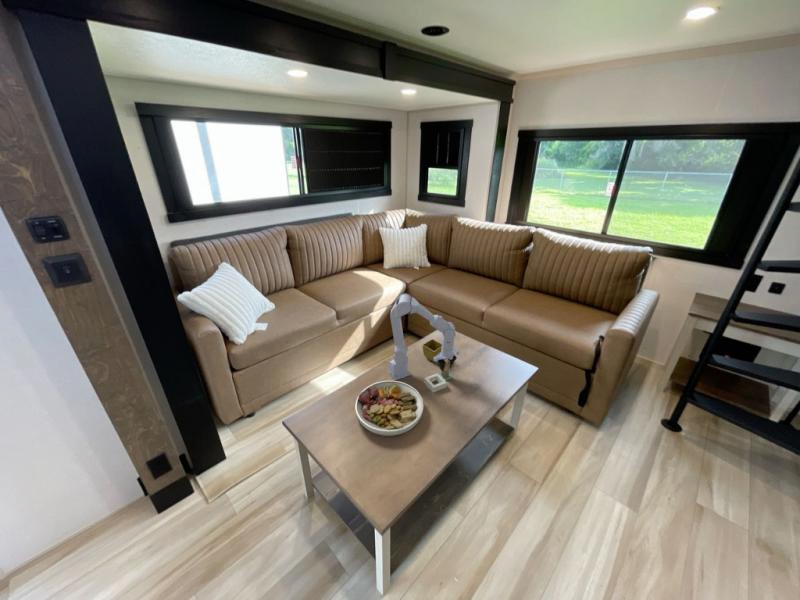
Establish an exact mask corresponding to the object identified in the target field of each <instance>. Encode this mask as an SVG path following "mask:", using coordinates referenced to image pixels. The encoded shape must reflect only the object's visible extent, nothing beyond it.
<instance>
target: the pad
mask: <svg viewBox="0 0 800 600" xmlns="http://www.w3.org/2000/svg"><path fill="white" fill-rule="evenodd" d="M438 374H439V375H440V376H441V377H442V378H443V379H444V380H445V381H446V382H447V381H449V380H452V379H454V377H453V376H452V374H450V373H449V376H448V377H443V376H442V375H441V372H440V373H438Z"/></svg>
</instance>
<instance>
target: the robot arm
mask: <svg viewBox="0 0 800 600" xmlns="http://www.w3.org/2000/svg"><path fill="white" fill-rule="evenodd" d="M415 313H416V314H417V315H420V316H421V317H423V318H424V319H426V320H427V321H429V324H430V326H431V327H433V328H434V329H436V330H437V331H439V332H440V333H442V339H441V344H442V349H441V353H439V354H438V355H437V356H435V357H434V361H433V362H435V363H438V366H439V370H440V371H444V366H445V363H446V362H445V361H444V360H449V361H450V369H452V367H453V364H454V363H455V361H456V360H457V356H456V355H460V351H461V350H459V349H458V348H456V349H454V346H455V345H454V344H455V337H456V327H455V325H454V323H453V322H451V321H447V320H445V319H444V318H443V316H442V315H438V314H433V313H432V312H431V311H429V310H428V309H427V308H426V307H425V306H423V305H422V304H421V303H419V301H418V300H417V299H416V298H415V297H413V296H411V295H410V294H408V293H403V294H401V295H400V296H398V297H397V299H396V301H395V302H394V304H393V306H392V308H391V310H390V314H389V317H390V324H391V331H392V336H393V342H394V355H393V359H392V360H389V361H388V370H387V372H388V374H389V375H390V376H391V378H392V379H393V381H398V380H400V379H404V378H405V377H406V378H407V377H409V376H411V373H410V372H409V369H408V368H409V367H408V366H409V365H408V364H409V363H408V362H409V359H408V356H407V355H408V350H409V349H408V346H407V344H406V341H405V339H404V338H405V337H404V333H403V332H404V331H403V325H402V324H403V323H402V317H403V316H404V315H407V314H410V315H412V314H415Z"/></svg>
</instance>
